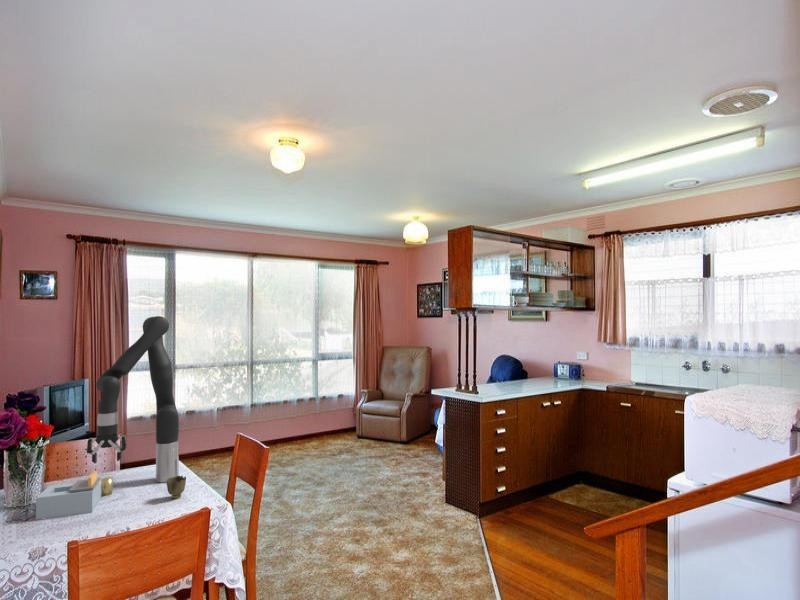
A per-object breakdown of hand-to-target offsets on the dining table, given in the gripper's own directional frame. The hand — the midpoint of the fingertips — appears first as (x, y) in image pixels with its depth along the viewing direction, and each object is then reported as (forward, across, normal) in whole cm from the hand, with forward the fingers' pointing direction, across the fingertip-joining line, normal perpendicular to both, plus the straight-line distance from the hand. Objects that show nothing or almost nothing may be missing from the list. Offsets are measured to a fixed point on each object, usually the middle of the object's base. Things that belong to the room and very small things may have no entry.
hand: (106, 461), depth 204 cm
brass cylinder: (+14, 0, 0) cm, 14 cm away
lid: (+5, +5, +13) cm, 15 cm away
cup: (+14, -28, +16) cm, 35 cm away
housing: (+14, +10, +13) cm, 21 cm away
